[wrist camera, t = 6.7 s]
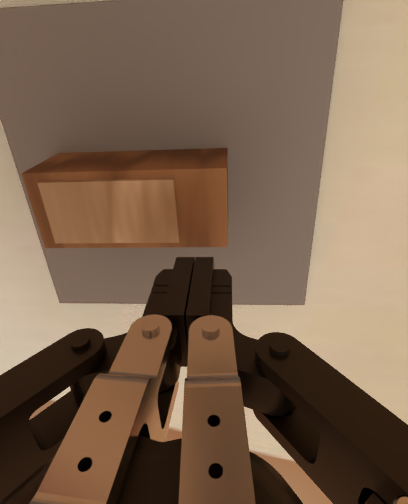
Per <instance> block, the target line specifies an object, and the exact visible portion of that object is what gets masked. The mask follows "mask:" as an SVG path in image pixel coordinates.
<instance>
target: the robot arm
mask: <svg viewBox="0 0 408 504" xmlns="http://www.w3.org/2000/svg"><path fill="white" fill-rule="evenodd" d="M181 366H186V367H187V378H185V384H184V403H183V424H182V438H181V439H176V440H172V441H167V442H166V436H167V432H168V428H169V423H170V419H171V415H172V411H173V407H174V403H175V399H176V395H177V391H178V386H179V382H178V378H179V373H180V367H181ZM69 386H70V388H71V391H70V392H68V393H67V394H66V395H64V396H63V397H61V398H60V399H59V400H57V401H56V402H54V403H53V404H52V405H51V406H49V407H47V408H46V409H45V410H43V411H42V412H41V413H39V414H38V415H37V416H35V417H34V418H32V419H30V420H29V418H30V416H31V415H32V414H33V413H34V412H35V410H37V409H38V408H39V407H41V406H42V405H44V404H45V403H47V402H48V401H49V400H51V399H52V398H54V397H55V396H57V395H58V394H59V393H61V392H62V391H64V390H65V389H66V388H68V387H69ZM244 406H245V407H248V408H250V409H253V411H254V414H255V416H256V418H257V419H258V420H259V421H260V422H261V423H262V425H263V426H264V427H265V428H266V429H267V430H268V431H269V432H270V433H271V435H272V436H273V437H274V438H275V439H276V440H277V441H278V442H279V444H280V445H281V446H282V447H283V448H284V449H285V450H286V451H287V452H288V454H289V455H290V456H291V457H292V458H293V459H294V460H295V461H296V463H297V464H298V465H299V466H300V467H301V468H302V469H303V470H304V471H305V473H306V474H307V475H308V476H309V477H310V478H311V479H312V480H313V482H314V483H315V484H316V485H317V486H318V487H319V488H320V489H321V491H322V492H323V493H324V494H325V495H326V496H327V497H328V498H329V499H330V500H331V502H332V503H333V504H408V425H407V424H406V423H405V422H403V421H402V420H401V419H399V418H398V417H397V416H396V415H394V414H393V413H392V412H390V411H389V410H388V409H386V408H385V407H384V406H383V405H381V404H380V403H379V402H377V401H376V400H375V399H373V398H372V397H371V396H370V395H368V394H367V393H366V392H364V391H363V390H362V389H360V388H359V387H358V386H357V385H355V384H354V383H353V382H351V381H350V380H349V379H347V378H346V377H345V376H344V375H342V374H341V373H340V372H338V371H337V370H336V369H334V368H333V367H332V366H331V365H329V364H328V363H327V362H325V361H324V360H323V359H321V358H320V357H319V356H318V355H316V354H315V353H314V352H312V351H311V350H310V349H309V348H307V347H306V346H305V345H303V344H302V343H301V342H299V341H298V340H297V339H295V338H294V337H292V336H290V335H288V334H285V333H279V332H273V333H268V334H265V335H263V336H262V337H260V339H259V340H257V339H253V338H250V337H247V336H245V335H243V334H241V333H240V332H239V331H237V330H236V328H235V327H234V325H233V322H232V276H231V275H230V273H229V272H228V271H227V269H214V257H196V258H195V257H176V260H175V264H174V267H173V269H163V270H162V271H161V272H160V273H159V274H158V275H157V276H156V277H155V280H154V283H153V287H152V289H151V294H150V295H149V298H148V301H147V304H146V307H145V310H144V313H143V316H142V317H141V318H139V319H137V320H136V321H135V322H133V324H132V325H131V326H130V328H129V330H128V332H127V333H125V334H122V335H119V336H114V337H110V338H105V339H104V338H103V335H102V333H101V332H100V331H98V330H96V329H91V328H86V329H80V330H76V331H74V332H72V333H70V334H68V335H67V336H65V337H63V338H62V339H60V340H58V341H57V342H55V343H53V344H52V345H50V346H48V347H47V348H45V349H43V350H42V351H40V352H38V353H37V354H35V355H33V356H32V357H30V358H28V359H27V360H25V361H23V362H22V363H20V364H18V365H17V366H15V367H13V368H12V369H10V370H8V371H7V372H5V373H3V374H2V375H0V504H303V503H302V502H301V500H300V499H299V498H298V496H297V495H296V494H295V493H294V491H293V490H292V489H291V487H290V486H289V485H288V484H287V482H286V481H285V480H284V478H283V477H282V476H281V475H280V474H279V473H278V472H277V471H276V470H275V469H274V468H273V467H272V466H271V465H270V464H269V463H267V462H266V461H265V460H264V459H262V458H260V457H259V456H257V455H256V454H254V453H251V452H249V446H248V438H247V430H246V422H245V413H244Z"/></svg>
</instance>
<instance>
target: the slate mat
mask: <svg viewBox="0 0 408 504" xmlns="http://www.w3.org/2000/svg"><path fill="white" fill-rule="evenodd" d="M342 5H343V0H113V1H99V2H84V3H70V4H55V5H41V6H26V7H12V8H0V118H1V121H2V124H3V127H4V131H5V134H6V137H7V140H8V143H9V146H10V149H11V152H12V156H13V159H14V162H15V165H16V168H17V171H18V174H19V177H20V180H21V184H22V187H23V190H24V193H25V196H26V199H27V202H28V205H29V208H30V212H31V215H32V218H33V221H34V224H35V227H36V230H37V233H38V237H39V240H40V243H41V246H42V249H43V252H44V255H45V258H46V261H47V265H48V268H49V271H50V274H51V277H52V280H53V283H54V286H55V289H56V293H57V296H58V299H59V302H60V303H119V304H147V301H148V298H149V295H150V294H151V289H152V287H153V283H154V280H155V277H156V276H157V275H158V274H159V273H160V272H161V271H162V270H163V269H173V267H174V264H175V260H176V257H195V258H196V257H214V269H227V271H228V272H229V273H230V275H231V276H232V304H238V305H304V304H305V296H306V288H307V280H308V272H309V265H310V257H311V249H312V241H313V233H314V225H315V217H316V210H317V202H318V194H319V186H320V178H321V170H322V162H323V155H324V147H325V139H326V131H327V123H328V115H329V108H330V100H331V92H332V84H333V76H334V68H335V60H336V53H337V45H338V37H339V29H340V21H341V13H342ZM205 148H228V247H157V248H45V247H44V244H43V241H42V238H41V234H40V231H39V228H38V225H37V222H36V219H35V215H34V212H33V209H32V206H31V203H30V200H29V196H28V193H27V190H26V187H25V184H24V181H23V178H22V174H21V173H23V172H25V171H26V170H28V169H30V168H32V167H34V166H36V165H38V164H39V163H41V162H43V161H45V160H47V159H49V158H51V157H52V156H54V155H56V154H58V153H73V152H106V151H139V150H172V149H205Z"/></svg>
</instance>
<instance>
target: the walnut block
mask: <svg viewBox="0 0 408 504" xmlns="http://www.w3.org/2000/svg"><path fill="white" fill-rule="evenodd" d="M21 174H22V178H23V181H24V184H25V187H26V190H27V193H28V196H29V200H30V203H31V206H32V209H33V212H34V215H35V219H36V222H37V225H38V228H39V231H40V234H41V238H42V241H43V244H44V247H45V248H157V247H228V148H205V149H172V150H139V151H106V152H73V153H58V154H56V155H54V156H52V157H51V158H49V159H47V160H45V161H43V162H41V163H39V164H38V165H36V166H34V167H32V168H30V169H28V170H26V171H25V172H23V173H21Z"/></svg>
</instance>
